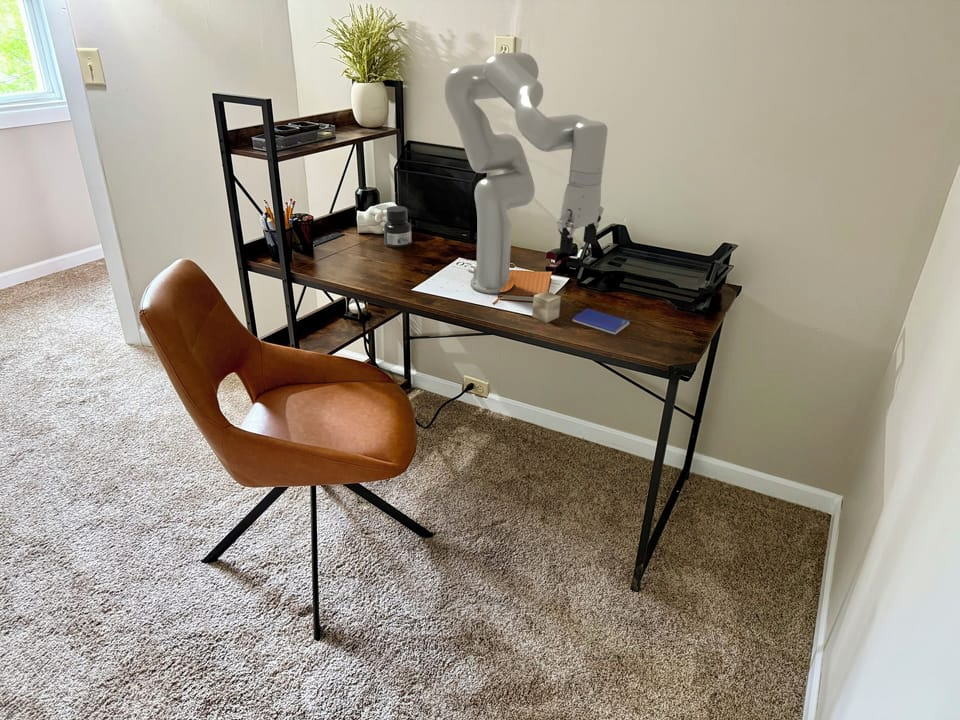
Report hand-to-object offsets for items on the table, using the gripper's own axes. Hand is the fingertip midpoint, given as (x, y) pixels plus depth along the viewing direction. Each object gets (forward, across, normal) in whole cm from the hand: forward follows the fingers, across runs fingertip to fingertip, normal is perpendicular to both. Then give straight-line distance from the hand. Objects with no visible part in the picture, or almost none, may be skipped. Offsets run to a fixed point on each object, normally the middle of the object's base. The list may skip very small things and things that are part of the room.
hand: (577, 247), depth 164 cm
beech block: (+21, +2, -6) cm, 22 cm away
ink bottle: (+22, -7, -76) cm, 80 cm away
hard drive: (+21, -6, +6) cm, 23 cm away
